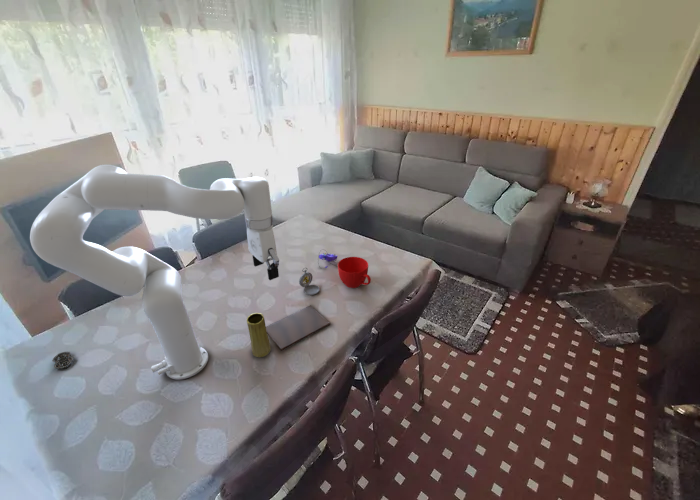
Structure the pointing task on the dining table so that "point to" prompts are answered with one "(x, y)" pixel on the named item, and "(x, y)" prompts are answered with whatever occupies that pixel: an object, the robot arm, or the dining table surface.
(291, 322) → the serving board
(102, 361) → the dining table surface
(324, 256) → the game controller
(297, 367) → the dining table surface
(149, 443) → the dining table surface
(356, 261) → the ceramic cup
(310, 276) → the pocket watch
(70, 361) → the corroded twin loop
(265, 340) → the vase
